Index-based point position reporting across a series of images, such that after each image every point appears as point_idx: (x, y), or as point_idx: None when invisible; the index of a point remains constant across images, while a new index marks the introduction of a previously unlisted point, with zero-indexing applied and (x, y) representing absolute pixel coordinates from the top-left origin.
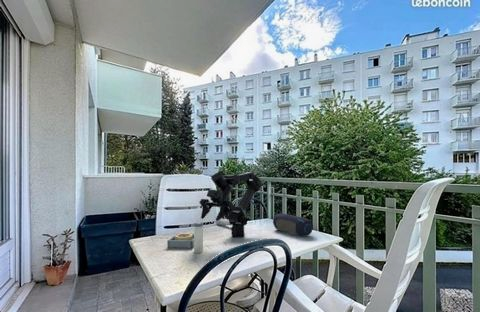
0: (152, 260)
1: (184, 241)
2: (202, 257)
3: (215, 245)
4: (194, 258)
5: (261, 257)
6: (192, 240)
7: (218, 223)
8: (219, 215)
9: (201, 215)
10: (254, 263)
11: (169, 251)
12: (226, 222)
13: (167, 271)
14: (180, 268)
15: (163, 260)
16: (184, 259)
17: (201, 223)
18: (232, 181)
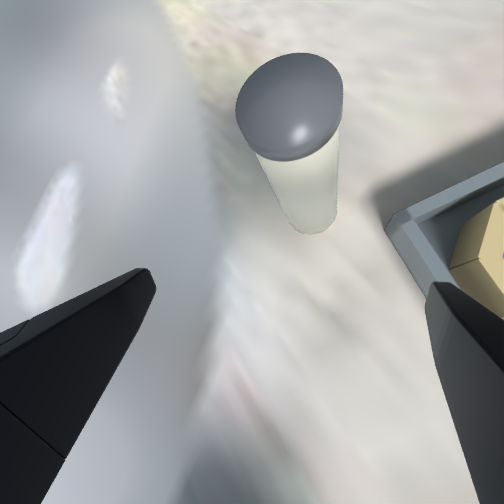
0: (418, 7)
1: (451, 187)
2: (238, 162)
3: (296, 353)
4: None
5: (40, 288)
6: (403, 224)
7: None
8: (72, 305)
9: (480, 305)
10: (49, 222)
11: (471, 121)
12: None
13: (261, 5)
14: (240, 45)
15: (369, 39)
16: None
17: (249, 114)
18: None
